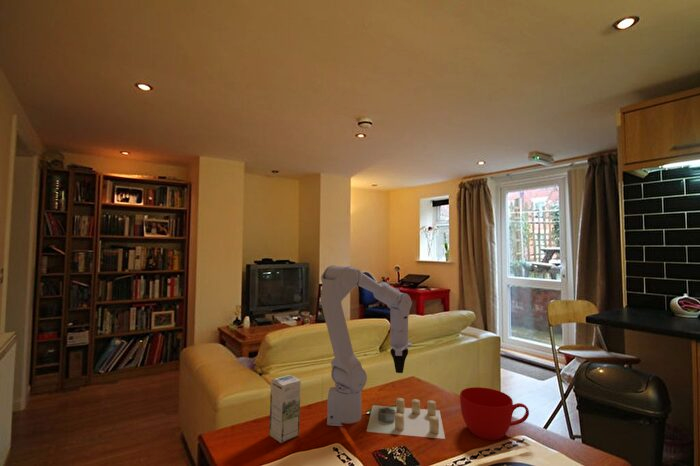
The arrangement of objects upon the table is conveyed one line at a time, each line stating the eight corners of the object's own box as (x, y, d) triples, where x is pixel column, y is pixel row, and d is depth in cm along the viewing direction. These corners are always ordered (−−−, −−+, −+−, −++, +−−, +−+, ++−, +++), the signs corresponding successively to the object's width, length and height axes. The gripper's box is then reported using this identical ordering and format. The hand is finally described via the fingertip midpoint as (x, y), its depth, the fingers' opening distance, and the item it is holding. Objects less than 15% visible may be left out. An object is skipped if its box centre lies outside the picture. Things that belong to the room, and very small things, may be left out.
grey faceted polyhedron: (381, 423, 94) (381, 416, 94) (374, 416, 98) (374, 409, 98) (398, 420, 96) (398, 413, 96) (391, 413, 100) (391, 406, 100)
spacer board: (366, 435, 90) (366, 417, 90) (372, 408, 106) (372, 393, 106) (445, 442, 87) (445, 424, 87) (439, 413, 102) (439, 398, 103)
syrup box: (287, 428, 94) (288, 373, 95) (300, 436, 89) (300, 379, 90) (268, 435, 90) (269, 378, 91) (281, 444, 85) (282, 384, 86)
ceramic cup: (537, 454, 82) (536, 411, 82) (463, 446, 85) (463, 404, 86) (522, 427, 94) (521, 390, 95) (458, 421, 98) (457, 385, 98)
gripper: (411, 335, 104) (412, 381, 103) (411, 325, 118) (411, 365, 117) (388, 334, 105) (388, 379, 104) (390, 324, 119) (391, 364, 118)
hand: (399, 372), depth 111 cm, fingers closed
